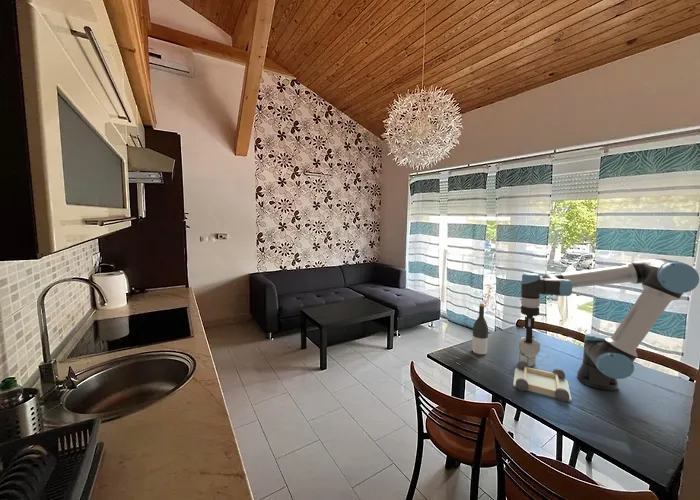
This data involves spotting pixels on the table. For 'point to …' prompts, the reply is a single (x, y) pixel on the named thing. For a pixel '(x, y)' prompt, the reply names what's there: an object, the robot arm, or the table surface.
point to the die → (529, 347)
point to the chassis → (542, 382)
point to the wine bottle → (480, 333)
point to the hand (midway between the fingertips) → (528, 353)
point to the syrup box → (527, 357)
